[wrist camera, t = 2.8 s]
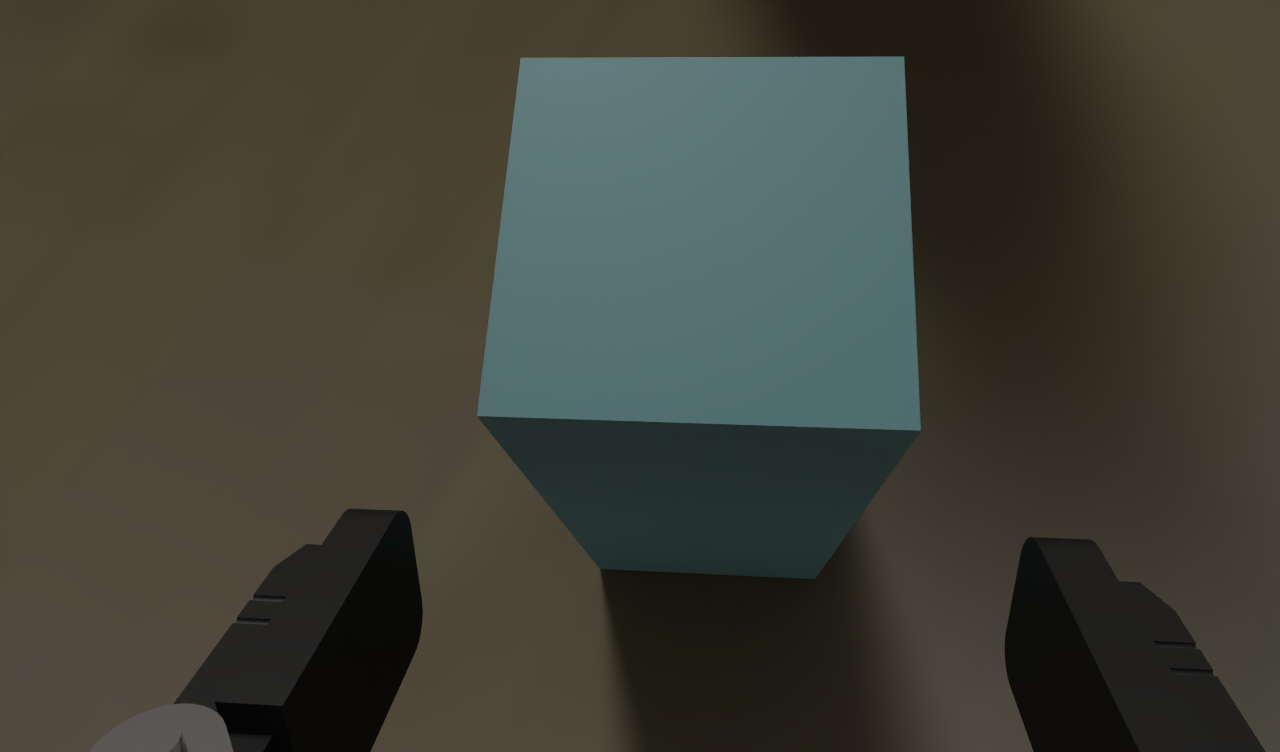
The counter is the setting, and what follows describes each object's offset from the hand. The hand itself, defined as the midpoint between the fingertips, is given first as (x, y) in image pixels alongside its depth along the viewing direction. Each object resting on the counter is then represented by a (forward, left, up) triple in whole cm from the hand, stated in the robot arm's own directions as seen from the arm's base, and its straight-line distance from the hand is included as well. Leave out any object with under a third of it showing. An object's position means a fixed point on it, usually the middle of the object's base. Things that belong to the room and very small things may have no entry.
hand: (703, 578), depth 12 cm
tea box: (-2, -3, -10) cm, 10 cm away
